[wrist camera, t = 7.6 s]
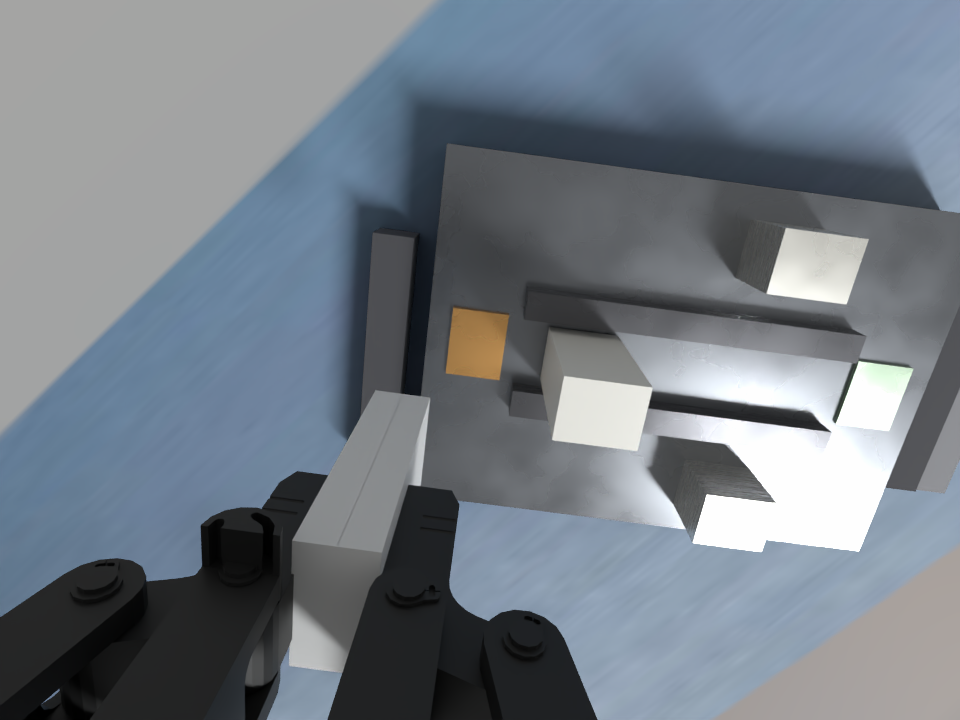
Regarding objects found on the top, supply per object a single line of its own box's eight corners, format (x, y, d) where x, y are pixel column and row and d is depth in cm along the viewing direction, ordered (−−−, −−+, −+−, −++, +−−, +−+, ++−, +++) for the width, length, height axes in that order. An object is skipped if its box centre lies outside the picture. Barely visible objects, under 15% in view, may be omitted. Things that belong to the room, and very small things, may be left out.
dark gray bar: (364, 456, 31) (356, 474, 29) (380, 227, 27) (372, 232, 25) (398, 461, 31) (392, 478, 29) (419, 233, 27) (414, 238, 25)
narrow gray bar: (858, 468, 30) (879, 486, 29) (931, 279, 27) (960, 287, 25) (922, 476, 30) (947, 495, 29) (1003, 289, 27) (1036, 297, 26)
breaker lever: (540, 378, 26) (552, 440, 20) (549, 326, 25) (563, 376, 20) (606, 387, 26) (637, 451, 20) (618, 335, 25) (652, 387, 20)
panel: (418, 463, 31) (401, 532, 25) (452, 144, 26) (439, 141, 20) (826, 515, 31) (898, 594, 26) (941, 211, 26) (1064, 226, 20)
